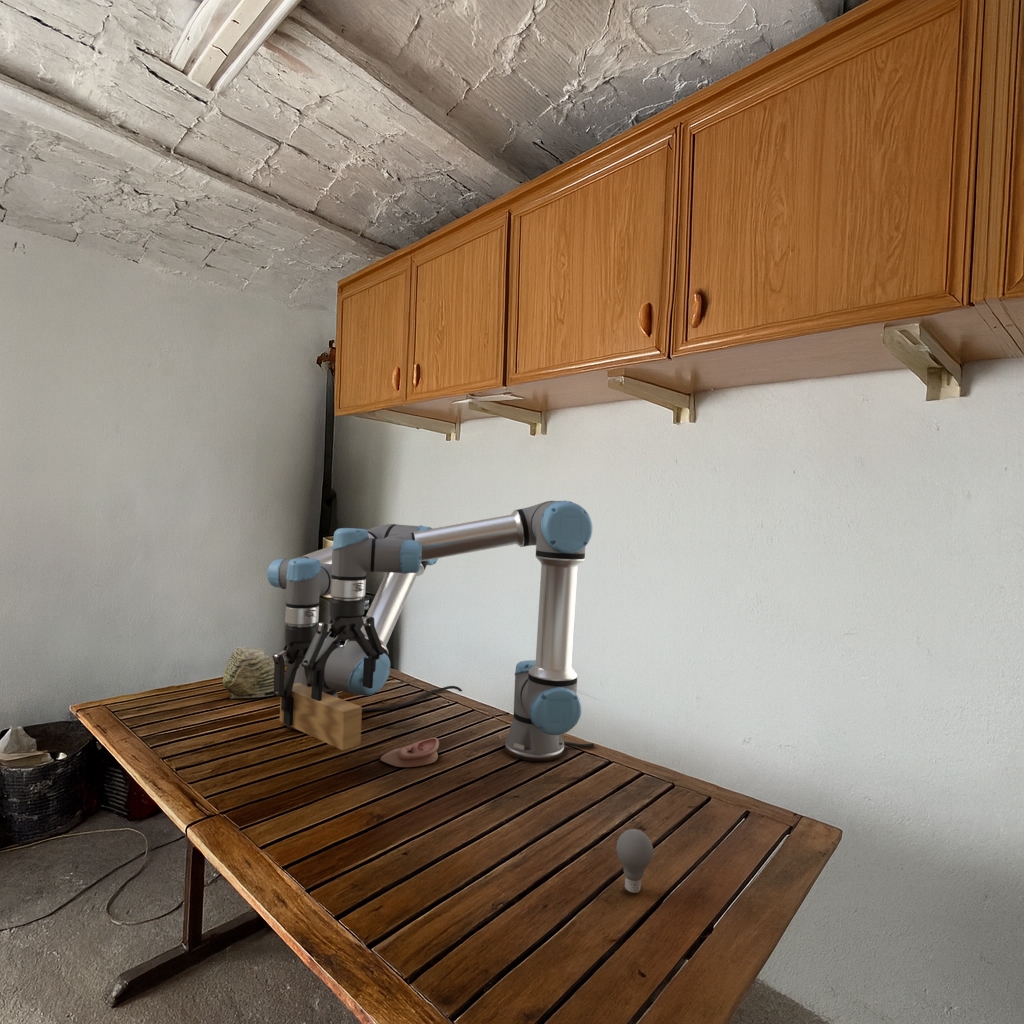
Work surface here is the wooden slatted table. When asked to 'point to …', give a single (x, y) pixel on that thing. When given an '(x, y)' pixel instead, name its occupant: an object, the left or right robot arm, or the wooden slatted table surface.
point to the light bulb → (634, 857)
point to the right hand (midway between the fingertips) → (342, 693)
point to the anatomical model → (413, 754)
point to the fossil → (249, 674)
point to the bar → (326, 718)
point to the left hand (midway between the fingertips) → (298, 720)
